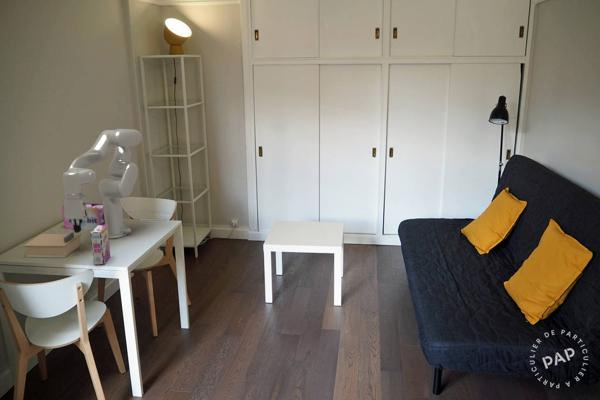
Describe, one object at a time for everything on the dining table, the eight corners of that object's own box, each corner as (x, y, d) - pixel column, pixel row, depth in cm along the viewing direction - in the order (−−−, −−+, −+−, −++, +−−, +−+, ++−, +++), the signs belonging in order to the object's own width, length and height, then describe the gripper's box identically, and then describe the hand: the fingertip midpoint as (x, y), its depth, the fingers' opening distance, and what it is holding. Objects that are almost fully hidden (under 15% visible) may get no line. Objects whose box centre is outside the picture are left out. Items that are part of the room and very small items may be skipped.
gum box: (109, 226, 294) (106, 204, 291) (101, 231, 287) (98, 208, 283) (72, 224, 299) (69, 201, 296) (64, 228, 292) (60, 205, 288)
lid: (80, 235, 265) (79, 229, 264) (65, 247, 249) (64, 241, 248) (41, 235, 266) (40, 229, 265) (23, 247, 250) (22, 240, 249)
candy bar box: (104, 265, 241) (100, 232, 236) (93, 265, 240) (89, 232, 236) (111, 256, 251) (107, 224, 247) (100, 256, 251) (96, 224, 246)
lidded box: (80, 245, 266) (79, 236, 264) (66, 257, 250) (64, 247, 249) (43, 244, 267) (42, 235, 265) (26, 256, 251) (24, 247, 250)
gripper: (92, 194, 253) (95, 230, 258) (62, 194, 254) (66, 229, 258) (85, 198, 246) (89, 234, 251) (54, 198, 246) (59, 234, 251)
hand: (77, 231), depth 254 cm, fingers closed
